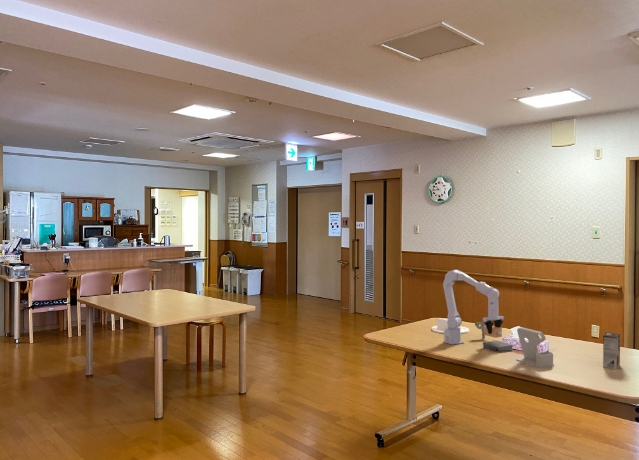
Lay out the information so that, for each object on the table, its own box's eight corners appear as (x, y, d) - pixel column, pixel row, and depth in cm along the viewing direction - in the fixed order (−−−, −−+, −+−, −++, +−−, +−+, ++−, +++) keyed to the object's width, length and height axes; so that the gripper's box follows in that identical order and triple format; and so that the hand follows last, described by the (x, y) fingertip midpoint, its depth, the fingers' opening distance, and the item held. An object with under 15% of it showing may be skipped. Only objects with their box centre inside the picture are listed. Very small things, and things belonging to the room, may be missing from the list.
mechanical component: (492, 339, 312) (492, 323, 312) (475, 339, 312) (475, 323, 312) (490, 337, 315) (490, 322, 315) (474, 337, 315) (474, 322, 315)
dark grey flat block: (498, 352, 280) (498, 347, 280) (482, 347, 291) (482, 342, 291) (512, 350, 285) (512, 345, 285) (497, 345, 296) (497, 340, 296)
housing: (483, 334, 294) (483, 326, 294) (490, 333, 297) (490, 325, 296) (497, 338, 285) (497, 329, 285) (503, 337, 287) (503, 328, 287)
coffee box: (606, 363, 258) (606, 332, 258) (620, 365, 254) (620, 333, 254) (602, 367, 251) (602, 335, 251) (617, 369, 247) (617, 337, 247)
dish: (473, 329, 342) (473, 312, 342) (463, 336, 320) (463, 318, 320) (438, 325, 355) (438, 309, 354) (426, 332, 333) (426, 315, 333)
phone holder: (555, 365, 254) (555, 330, 254) (541, 368, 250) (541, 332, 249) (528, 357, 270) (528, 324, 269) (514, 360, 265) (514, 326, 265)
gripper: (488, 311, 284) (489, 335, 284) (507, 309, 290) (508, 333, 290) (480, 310, 290) (480, 333, 290) (498, 307, 296) (498, 330, 297)
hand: (493, 333), depth 291 cm, fingers closed on housing, 5 cm apart
